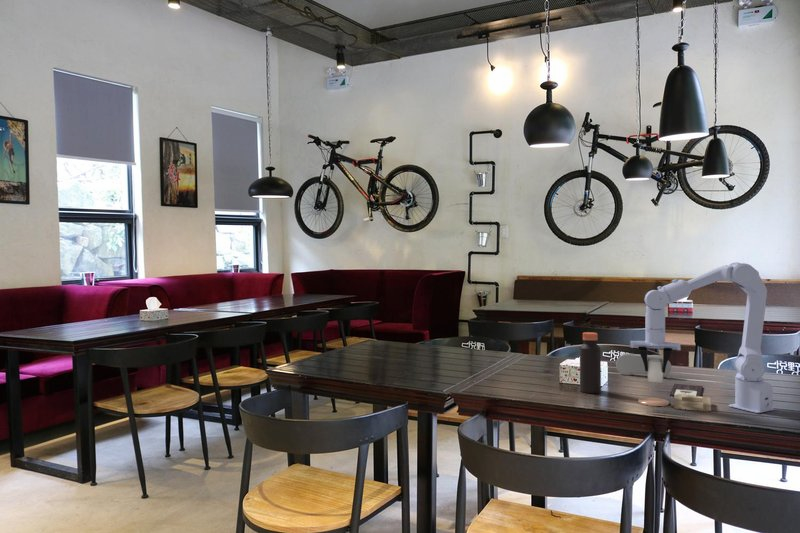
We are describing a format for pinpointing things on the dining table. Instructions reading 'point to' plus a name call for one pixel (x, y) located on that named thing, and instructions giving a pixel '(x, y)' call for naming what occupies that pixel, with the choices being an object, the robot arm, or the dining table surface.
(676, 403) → the birch holder
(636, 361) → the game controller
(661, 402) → the terracotta saucer
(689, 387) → the chocolate bar
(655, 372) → the light gray cylinder
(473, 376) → the dining table surface
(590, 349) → the bottle
